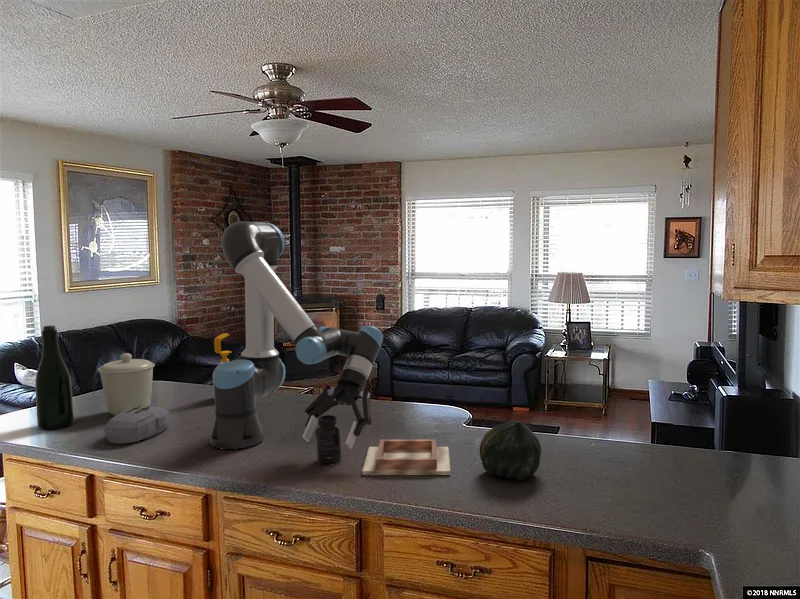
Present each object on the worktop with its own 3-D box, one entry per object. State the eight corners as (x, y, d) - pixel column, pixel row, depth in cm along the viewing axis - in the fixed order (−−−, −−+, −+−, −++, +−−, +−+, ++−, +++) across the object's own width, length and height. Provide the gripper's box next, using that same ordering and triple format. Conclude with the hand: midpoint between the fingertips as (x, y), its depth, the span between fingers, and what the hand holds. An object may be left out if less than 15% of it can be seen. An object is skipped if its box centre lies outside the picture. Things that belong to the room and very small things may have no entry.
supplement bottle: (316, 457, 167) (315, 414, 165) (342, 456, 167) (340, 413, 166) (315, 466, 160) (314, 421, 159) (341, 465, 160) (340, 420, 159)
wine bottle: (55, 432, 193) (47, 328, 190) (30, 429, 197) (22, 327, 194) (81, 422, 203) (75, 324, 200) (57, 420, 207) (50, 323, 203)
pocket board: (362, 475, 153) (361, 461, 153) (369, 450, 171) (369, 438, 171) (450, 475, 152) (450, 461, 152) (448, 450, 170) (448, 437, 169)
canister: (139, 403, 227) (135, 347, 225) (167, 410, 216) (164, 351, 214) (90, 415, 212) (86, 355, 210) (118, 423, 201) (115, 360, 199)
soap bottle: (243, 397, 232) (240, 333, 229) (221, 402, 225) (218, 336, 223) (230, 394, 238) (227, 331, 236) (209, 398, 231) (206, 334, 229)
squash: (476, 440, 162) (482, 409, 151) (533, 442, 161) (543, 411, 150) (479, 491, 152) (485, 462, 141) (539, 493, 152) (550, 464, 141)
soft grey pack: (138, 424, 200) (92, 444, 181) (136, 399, 200) (91, 417, 180) (178, 427, 196) (136, 448, 177) (177, 402, 196) (134, 420, 176)
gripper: (398, 386, 170) (372, 455, 158) (323, 378, 182) (294, 442, 170) (388, 371, 165) (361, 442, 153) (312, 364, 176) (282, 429, 165)
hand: (326, 442), depth 161 cm, fingers open, 13 cm apart
